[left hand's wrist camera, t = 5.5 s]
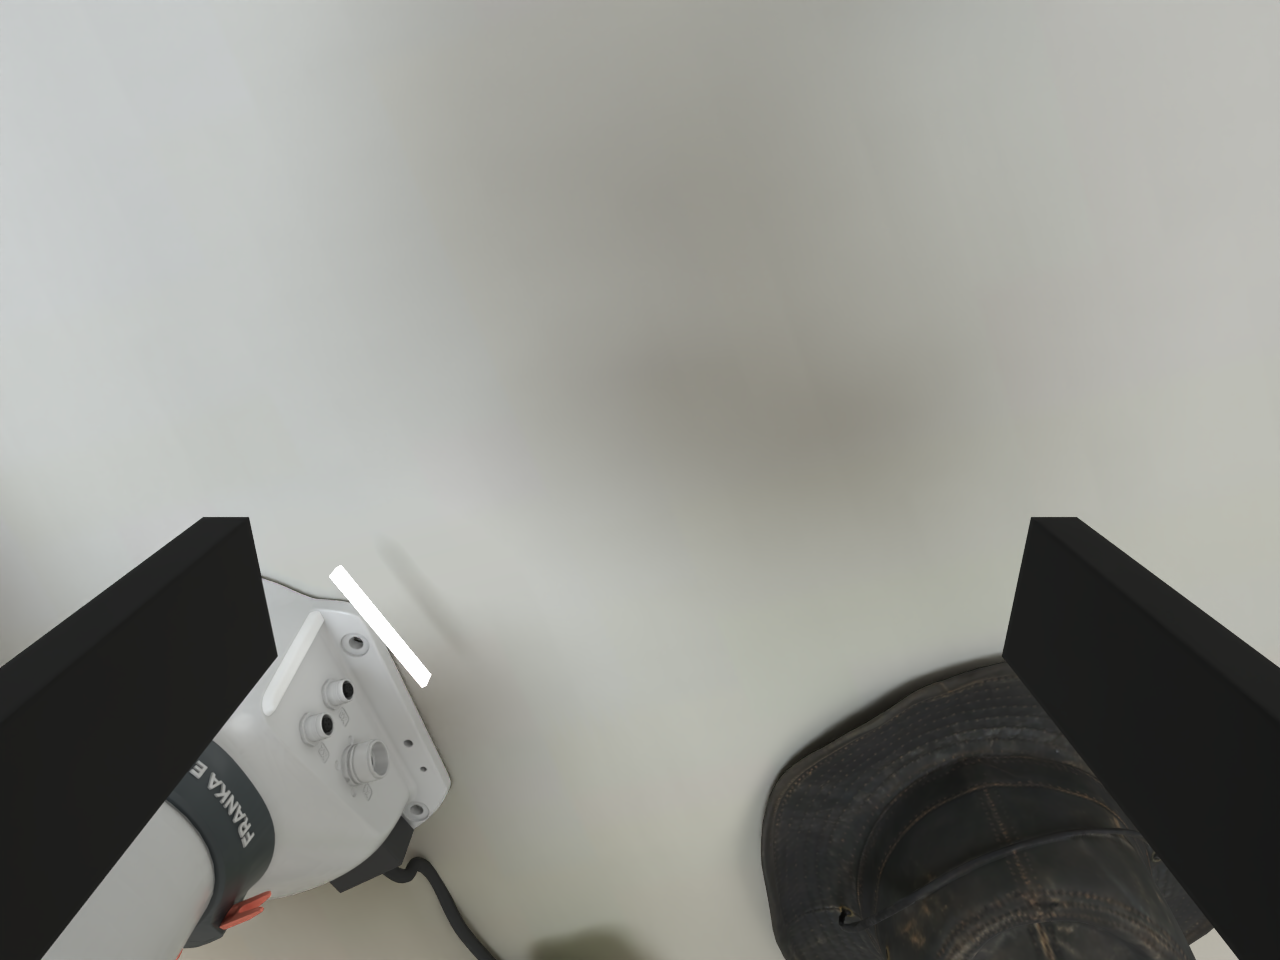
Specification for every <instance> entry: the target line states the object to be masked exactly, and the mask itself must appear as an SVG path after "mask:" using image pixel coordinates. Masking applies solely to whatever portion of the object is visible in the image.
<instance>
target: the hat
mask: <svg viewBox="0 0 1280 960" xmlns="http://www.w3.org/2000/svg"><path fill="white" fill-rule="evenodd" d="M761 862H762V869H763V875H764V880H765V885H766V890H767V896H768V901H769V907H770V913H771V920H772V927H773V932H774V935H775V939H776V942H777V944H778V946H779V948H780V950H781V952H782V954H783V956H784V958H785V959H786V960H1196V959H1195V957H1194V955H1193V953H1192V951H1191V948H1190V946H1189V945H1190V944H1192V943H1193V942H1195V941H1196V940H1198V939H1199V938H1201V937H1202V936H1204V935H1205V934H1207V933H1208V932H1209V931H1211V930H1212V929H1213V928H1214V927H1213V926H1212V924H1211V923H1210V922H1209V921H1208V919H1207V918H1206V917H1205V915H1204V914H1203V913H1202V912H1201V910H1200V909H1199V908H1198V906H1197V905H1196V904H1195V903H1194V901H1193V900H1192V899H1191V898H1190V896H1189V895H1188V894H1187V892H1186V891H1185V890H1184V889H1183V887H1182V886H1181V885H1180V883H1179V882H1178V881H1177V880H1176V878H1175V877H1174V876H1173V874H1172V873H1171V872H1170V871H1169V869H1168V868H1167V867H1166V866H1165V864H1164V863H1163V862H1162V860H1161V859H1160V858H1159V857H1158V855H1157V854H1156V853H1155V851H1154V850H1153V849H1152V848H1151V846H1150V845H1149V844H1148V842H1147V841H1146V840H1145V839H1144V837H1143V836H1142V835H1141V834H1140V832H1139V831H1138V830H1137V828H1136V827H1135V826H1134V825H1133V823H1132V822H1131V821H1130V819H1129V818H1128V817H1127V816H1126V814H1125V813H1124V812H1123V810H1122V809H1121V808H1120V807H1119V805H1118V804H1117V803H1116V801H1115V800H1114V799H1113V798H1112V796H1111V795H1110V794H1109V793H1108V791H1107V790H1106V789H1105V787H1104V786H1103V785H1102V784H1101V782H1100V781H1099V780H1098V778H1097V777H1096V776H1095V775H1094V773H1093V772H1092V771H1091V769H1090V768H1089V767H1088V766H1087V764H1086V763H1085V762H1084V761H1083V759H1082V758H1081V757H1080V755H1079V754H1078V753H1077V752H1076V750H1075V749H1074V748H1073V746H1072V745H1071V744H1070V743H1069V741H1068V740H1067V739H1066V737H1065V736H1064V735H1063V734H1062V732H1061V731H1060V730H1059V729H1058V727H1057V726H1056V725H1055V723H1054V722H1053V721H1052V720H1051V718H1050V717H1049V716H1048V714H1047V713H1046V712H1045V711H1044V709H1043V708H1042V707H1041V705H1040V704H1039V703H1038V702H1037V700H1036V699H1035V698H1034V697H1033V695H1032V694H1031V693H1030V691H1029V690H1028V689H1027V688H1026V686H1025V685H1024V684H1023V682H1022V681H1021V680H1020V679H1019V677H1018V676H1017V675H1016V673H1015V672H1014V671H1013V670H1012V668H1011V667H1010V666H1009V665H1008V663H1007V662H1003V663H999V664H995V665H991V666H986V667H982V668H978V669H975V670H972V671H969V672H965V673H962V674H959V675H956V676H953V677H950V678H948V679H945V680H943V681H939V682H935V683H933V684H931V685H928V686H925V687H923V688H921V689H919V690H917V691H915V692H913V693H911V694H910V695H908V696H907V697H905V698H904V699H902V700H901V701H899V702H898V703H896V704H895V705H894V706H892V707H891V708H889V709H888V710H886V711H885V712H883V713H881V714H879V715H878V716H876V717H874V718H873V719H871V720H870V721H868V722H866V723H865V724H863V725H861V726H859V727H857V728H855V729H854V730H852V731H850V732H848V733H846V734H844V735H843V736H841V737H840V738H838V739H836V740H835V741H833V742H831V743H830V744H828V745H826V746H824V747H823V748H821V749H819V750H817V751H814V752H812V753H811V754H809V755H807V756H806V757H804V758H802V759H801V760H800V761H798V762H797V763H795V764H794V765H793V766H792V767H791V768H789V769H788V770H787V771H786V772H785V773H784V774H783V775H782V776H781V777H780V779H779V780H778V782H777V783H776V785H775V787H774V789H773V791H772V793H771V795H770V797H769V801H768V804H767V808H766V812H765V816H764V820H763V828H762V838H761Z"/></svg>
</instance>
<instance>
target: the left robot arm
mask: <svg viewBox="0 0 1280 960" xmlns="http://www.w3.org/2000/svg"><path fill="white" fill-rule="evenodd" d="M277 657H278V654H277V649H276V644H275V640H274V635H273V630H272V625H271V621H270V616H269V611H268V606H267V601H266V597H265V592H264V587H263V582H262V578H261V573H260V568H259V563H258V558H257V554H256V549H255V544H254V539H253V535H252V530H251V525H250V520H249V517H203V518H201V519H200V520H199V521H197V522H196V523H195V524H193V525H192V526H191V527H189V528H188V529H187V530H185V531H184V532H183V533H181V534H180V535H179V536H177V537H176V538H175V539H173V540H172V541H171V542H169V543H168V544H166V545H165V546H164V547H162V548H161V549H160V550H158V551H157V552H156V553H154V554H153V555H152V556H150V557H149V558H148V559H146V560H145V561H144V562H142V563H141V564H140V565H138V566H137V567H136V568H134V569H133V570H131V571H130V572H129V573H127V574H126V575H125V576H123V577H122V578H121V579H119V580H118V581H117V582H115V583H114V584H113V585H111V586H110V587H109V588H107V589H106V590H105V591H103V592H102V593H101V594H99V595H98V596H96V597H95V598H94V599H92V600H91V601H90V602H88V603H87V604H86V605H84V606H83V607H82V608H80V609H79V610H78V611H76V612H75V613H74V614H72V615H71V616H70V617H68V618H67V619H66V620H64V621H63V622H61V623H60V624H59V625H57V626H56V627H55V628H53V629H52V630H51V631H49V632H48V633H47V634H45V635H44V636H43V637H41V638H40V639H39V640H37V641H36V642H35V643H33V644H32V645H31V646H29V647H28V648H26V649H25V650H24V651H22V652H21V653H20V654H18V655H17V656H16V657H14V658H13V659H12V660H10V661H9V662H8V663H6V664H5V665H4V666H2V667H1V668H0V960H41V959H42V958H43V956H44V955H45V954H46V953H47V951H48V950H49V949H50V947H51V946H52V945H53V944H54V942H55V941H56V940H57V938H58V937H59V936H60V935H61V933H62V932H63V931H64V930H65V928H66V927H67V926H68V924H69V923H70V922H71V921H72V919H73V918H74V917H75V915H76V914H77V913H78V912H79V910H80V909H81V908H82V906H83V905H84V904H85V903H86V901H87V900H88V899H89V898H90V896H91V895H92V894H93V892H94V891H95V890H96V889H97V887H98V886H99V885H100V883H101V882H102V881H103V880H104V878H105V877H106V876H107V874H108V873H109V872H110V871H111V869H112V868H113V867H114V866H115V864H116V863H117V862H118V860H119V859H120V858H121V857H122V855H123V854H124V853H125V851H126V850H127V849H128V848H129V846H130V845H131V844H132V842H133V841H134V840H135V839H136V837H137V836H138V835H139V834H140V832H141V831H142V830H143V828H144V827H145V826H146V825H147V823H148V822H149V821H150V819H151V818H152V817H153V816H154V814H155V813H156V812H157V810H158V809H159V808H160V807H161V805H162V804H163V803H164V801H165V800H166V799H167V798H168V796H169V795H170V794H171V793H172V791H173V790H174V789H175V787H176V786H177V785H178V784H179V782H180V781H181V780H182V778H183V777H184V776H185V775H186V773H187V772H188V771H189V769H190V768H191V767H192V766H193V764H194V763H195V762H196V761H197V759H198V758H199V757H200V755H201V754H202V753H203V752H204V750H205V749H206V748H207V746H208V745H209V744H210V743H211V741H212V740H213V739H214V737H215V736H216V735H217V734H218V732H219V731H220V730H221V729H222V727H223V726H224V725H225V723H226V722H227V721H228V720H229V718H230V717H231V716H232V714H233V713H234V712H235V711H236V709H237V708H238V707H239V705H240V704H241V703H242V702H243V700H244V699H245V698H246V697H247V695H248V694H249V693H250V691H251V690H252V689H253V688H254V686H255V685H256V684H257V682H258V681H259V680H260V679H261V677H262V676H263V675H264V673H265V672H266V671H267V670H268V668H269V667H270V666H271V664H272V663H273V662H274V661H275V659H276V658H277ZM1002 657H1003V658H1004V659H1005V661H1006V662H1007V663H1008V665H1009V666H1010V667H1011V668H1012V670H1013V671H1014V672H1015V673H1016V675H1017V676H1018V677H1019V679H1020V680H1021V681H1022V682H1023V684H1024V685H1025V686H1026V688H1027V689H1028V690H1029V691H1030V693H1031V694H1032V695H1033V697H1034V698H1035V699H1036V700H1037V702H1038V703H1039V704H1040V705H1041V707H1042V708H1043V709H1044V711H1045V712H1046V713H1047V714H1048V716H1049V717H1050V718H1051V720H1052V721H1053V722H1054V723H1055V725H1056V726H1057V727H1058V729H1059V730H1060V731H1061V732H1062V734H1063V735H1064V736H1065V737H1066V739H1067V740H1068V741H1069V743H1070V744H1071V745H1072V746H1073V748H1074V749H1075V750H1076V752H1077V753H1078V754H1079V755H1080V757H1081V758H1082V759H1083V761H1084V762H1085V763H1086V764H1087V766H1088V767H1089V768H1090V769H1091V771H1092V772H1093V773H1094V775H1095V776H1096V777H1097V778H1098V780H1099V781H1100V782H1101V784H1102V785H1103V786H1104V787H1105V789H1106V790H1107V791H1108V793H1109V794H1110V795H1111V796H1112V798H1113V799H1114V800H1115V801H1116V803H1117V804H1118V805H1119V807H1120V808H1121V809H1122V810H1123V812H1124V813H1125V814H1126V816H1127V817H1128V818H1129V819H1130V821H1131V822H1132V823H1133V825H1134V826H1135V827H1136V828H1137V830H1138V831H1139V832H1140V834H1141V835H1142V836H1143V837H1144V839H1145V840H1146V841H1147V842H1148V844H1149V845H1150V846H1151V848H1152V849H1153V850H1154V851H1155V853H1156V854H1157V855H1158V857H1159V858H1160V859H1161V860H1162V862H1163V863H1164V864H1165V866H1166V867H1167V868H1168V869H1169V871H1170V872H1171V873H1172V874H1173V876H1174V877H1175V878H1176V880H1177V881H1178V882H1179V883H1180V885H1181V886H1182V887H1183V889H1184V890H1185V891H1186V892H1187V894H1188V895H1189V896H1190V898H1191V899H1192V900H1193V901H1194V903H1195V904H1196V905H1197V906H1198V908H1199V909H1200V910H1201V912H1202V913H1203V914H1204V915H1205V917H1206V918H1207V919H1208V921H1209V922H1210V923H1211V924H1212V926H1213V927H1214V928H1215V930H1216V931H1217V932H1218V933H1219V935H1220V936H1221V937H1222V938H1223V940H1224V941H1225V942H1226V944H1227V945H1228V946H1229V947H1230V949H1231V950H1232V951H1233V953H1234V954H1235V955H1236V956H1237V958H1238V959H1239V960H1280V668H1279V667H1278V666H1276V665H1275V664H1274V663H1272V662H1271V661H1270V660H1268V659H1267V658H1266V657H1264V656H1263V655H1262V654H1260V653H1259V652H1258V651H1256V650H1255V649H1254V648H1252V647H1251V646H1249V645H1248V644H1247V643H1245V642H1244V641H1243V640H1241V639H1240V638H1239V637H1237V636H1236V635H1235V634H1233V633H1232V632H1231V631H1229V630H1228V629H1227V628H1225V627H1224V626H1223V625H1221V624H1220V623H1219V622H1217V621H1216V620H1214V619H1213V618H1212V617H1210V616H1209V615H1208V614H1206V613H1205V612H1204V611H1202V610H1201V609H1200V608H1198V607H1197V606H1196V605H1194V604H1193V603H1192V602H1190V601H1189V600H1188V599H1186V598H1185V597H1184V596H1182V595H1181V594H1179V593H1178V592H1177V591H1175V590H1174V589H1173V588H1171V587H1170V586H1169V585H1167V584H1166V583H1165V582H1163V581H1162V580H1161V579H1159V578H1158V577H1157V576H1155V575H1154V574H1153V573H1151V572H1150V571H1149V570H1147V569H1146V568H1144V567H1143V566H1142V565H1140V564H1139V563H1138V562H1136V561H1135V560H1134V559H1132V558H1131V557H1130V556H1128V555H1127V554H1126V553H1124V552H1123V551H1122V550H1120V549H1119V548H1118V547H1116V546H1115V545H1114V544H1112V543H1111V542H1109V541H1108V540H1107V539H1105V538H1104V537H1103V536H1101V535H1100V534H1099V533H1097V532H1096V531H1095V530H1093V529H1092V528H1091V527H1089V526H1088V525H1087V524H1085V523H1084V522H1083V521H1081V520H1080V519H1079V518H1077V517H1031V520H1030V525H1029V530H1028V535H1027V539H1026V544H1025V549H1024V554H1023V558H1022V563H1021V568H1020V573H1019V578H1018V582H1017V587H1016V592H1015V597H1014V601H1013V606H1012V611H1011V616H1010V621H1009V625H1008V630H1007V635H1006V640H1005V644H1004V649H1003V654H1002Z"/></svg>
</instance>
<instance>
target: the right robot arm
mask: <svg viewBox="0 0 1280 960" xmlns="http://www.w3.org/2000/svg"><path fill="white" fill-rule="evenodd" d="M329 577H330V578H331V579H332V580H333V582H334V583H335V584H336V585H337V586H338V588H339V589H340V590H341V591H342V592H343V594H344V595H345V596H346V597H347V598H348V600H349V601H350V602H345V601H338V600H327V599H315V598H312V597H309V596H306V595H303V594H301V593H298V592H296V591H294V590H292V589H290V588H287V587H285V586H283V585H280V584H278V583H275V582H273V581H269V580H266V579H263V578H262V582H263V587H264V592H265V597H266V601H267V606H268V611H269V616H270V621H271V625H272V630H273V635H274V640H275V644H276V649H277V654H278V657H277V658H276V659H275V661H274V662H273V663H272V664H271V666H270V667H269V668H268V670H267V671H266V672H265V673H264V675H263V676H262V677H261V679H260V680H259V681H258V682H257V684H256V685H255V686H254V688H253V689H252V690H251V691H250V693H249V694H248V695H247V697H246V698H245V699H244V700H243V702H242V703H241V704H240V705H239V707H238V708H237V709H236V711H235V712H234V713H233V714H232V716H231V717H230V718H229V720H228V721H227V722H226V723H225V725H224V726H223V727H222V729H221V730H220V731H219V732H218V734H217V735H216V736H215V737H214V739H213V740H212V741H211V743H210V744H209V745H208V746H207V748H206V749H205V750H204V752H203V753H202V754H201V755H200V757H199V758H198V759H197V761H196V762H195V763H194V764H193V766H192V767H191V768H190V769H189V771H188V772H187V773H186V775H185V776H184V777H183V778H182V780H181V781H180V782H179V784H178V785H177V786H176V787H175V789H174V790H173V791H172V793H171V794H170V795H169V796H168V798H167V799H166V800H165V801H164V803H163V804H162V805H161V807H160V808H159V809H158V810H157V812H156V813H155V814H154V816H153V817H152V818H151V819H150V821H149V822H148V823H147V825H146V826H145V827H144V828H143V830H142V831H141V832H140V834H139V835H138V836H137V837H136V839H135V840H134V841H133V842H132V844H131V845H130V846H129V848H128V849H127V850H126V851H125V853H124V854H123V855H122V857H121V858H120V859H119V860H118V862H117V863H116V864H115V866H114V867H113V868H112V869H111V871H110V872H109V873H108V874H107V876H106V877H105V878H104V880H103V881H102V882H101V883H100V885H99V886H98V887H97V889H96V890H95V891H94V892H93V894H92V895H91V896H90V898H89V899H88V900H87V901H86V903H85V904H84V905H83V906H82V908H81V909H80V910H79V912H78V913H77V914H76V915H75V917H74V918H73V919H72V921H71V922H70V923H69V924H68V926H67V927H66V928H65V930H64V931H63V932H62V933H61V935H60V936H59V937H58V938H57V940H56V941H55V942H54V944H53V945H52V946H51V947H50V949H49V950H48V951H47V953H46V954H45V955H44V956H43V958H42V959H41V960H177V959H178V958H179V957H180V954H181V952H182V949H183V948H194V947H199V946H202V945H205V944H207V943H210V942H212V941H215V940H217V939H219V938H221V937H222V936H223V934H224V933H225V931H226V930H227V928H230V927H232V926H235V925H237V924H240V923H242V922H245V921H247V920H249V919H251V918H253V917H254V916H256V915H258V914H259V913H261V912H262V911H263V910H264V908H263V907H259V906H260V905H261V904H262V903H263V902H265V901H266V900H270V899H278V898H282V897H287V896H291V895H295V894H298V893H301V892H304V891H307V890H310V889H313V888H315V887H318V886H321V885H323V884H325V883H328V882H330V883H331V884H332V885H333V886H334V887H335V888H336V889H337V890H338V891H339V892H340V893H341V892H344V891H346V890H348V889H350V888H352V887H354V886H357V885H359V884H361V883H363V882H365V881H368V880H370V879H372V878H374V877H376V876H378V875H381V874H383V875H385V876H386V877H388V878H389V879H391V880H393V881H395V882H397V883H406V882H409V881H411V880H412V879H413V878H414V877H415V875H416V873H417V871H418V872H421V873H422V874H423V875H424V876H425V877H426V878H427V879H428V881H429V882H430V884H431V885H432V887H433V889H434V891H435V893H436V895H437V897H438V899H439V902H440V904H441V906H442V908H443V910H444V912H445V915H446V917H447V919H448V920H449V922H450V924H451V926H452V928H453V929H454V931H455V933H456V934H457V935H458V937H459V938H460V939H461V941H462V942H463V943H464V944H465V945H466V947H467V948H468V949H469V950H470V951H471V952H472V954H473V955H474V956H475V957H476V958H477V959H478V960H496V959H495V958H494V957H493V956H492V955H491V954H490V953H489V952H488V951H487V950H486V949H485V947H484V946H483V945H482V944H481V943H480V942H479V940H478V939H477V938H476V937H475V936H474V934H473V933H472V932H471V931H470V930H469V928H468V927H467V925H466V924H465V922H464V921H463V919H462V917H461V916H460V914H459V912H458V910H457V908H456V906H455V904H454V902H453V899H452V897H451V895H450V894H449V892H448V890H447V888H446V886H445V884H444V883H443V881H442V880H441V878H440V877H439V875H438V873H437V872H436V870H435V869H434V868H433V866H432V865H431V864H430V863H429V862H428V861H427V860H425V859H422V858H419V857H416V858H413V859H411V860H410V861H409V863H408V865H407V867H406V869H401V868H399V867H398V866H400V865H402V862H403V859H404V856H405V854H406V851H407V848H408V845H409V842H410V839H411V837H412V834H413V831H414V829H415V828H416V827H418V826H419V825H421V824H422V823H423V822H424V821H426V820H427V819H428V818H429V817H430V816H431V815H432V814H433V813H434V812H435V811H436V810H437V809H438V808H439V806H440V805H441V803H442V802H443V800H444V799H445V797H446V795H447V793H448V791H449V789H450V786H451V780H450V777H449V775H448V772H447V770H446V768H445V766H444V764H443V762H442V760H441V758H440V756H439V754H438V752H437V749H436V747H435V745H434V743H433V741H432V739H431V737H430V735H429V733H428V731H427V729H426V727H425V725H424V723H423V721H422V719H421V717H420V714H419V712H418V710H417V708H416V706H415V704H414V702H413V700H412V698H411V696H410V694H409V692H408V690H407V688H406V686H405V684H404V681H403V679H402V677H401V675H400V673H399V671H398V669H397V667H396V665H395V663H394V661H393V659H392V657H391V655H390V653H389V651H388V649H387V646H388V647H389V649H390V650H391V651H392V652H393V653H394V655H395V656H396V657H397V658H398V659H399V661H400V662H401V663H402V664H403V665H404V667H405V668H406V669H407V670H408V671H409V673H410V674H411V675H412V676H413V677H414V679H415V680H416V681H417V682H418V683H419V685H420V686H421V687H424V686H426V685H427V683H428V681H429V678H430V676H431V674H430V673H429V672H428V670H427V669H426V668H425V667H424V665H423V664H422V663H421V662H420V661H419V659H418V658H417V657H416V656H415V655H414V653H413V652H412V651H411V650H410V648H409V647H408V646H407V645H406V644H405V642H404V641H403V640H402V639H401V638H400V636H399V635H398V634H397V633H396V631H395V630H394V629H393V628H392V627H391V625H390V624H389V623H388V622H387V621H386V619H385V618H384V617H383V616H382V614H381V613H380V612H379V611H378V610H377V608H376V607H375V606H374V605H373V604H372V602H371V601H370V600H369V599H368V597H367V596H366V595H365V594H364V593H363V591H362V590H361V589H360V588H359V587H358V585H357V584H356V583H355V582H354V580H353V579H352V578H351V577H350V576H349V574H348V573H347V572H346V571H345V570H344V568H343V567H342V566H339V567H337V568H336V569H335V570H334V572H333V573H332V574H331V575H330V576H329ZM353 637H358V638H360V639H361V640H362V641H363V642H362V643H361V642H357V641H356V640H355V639H354V638H353ZM386 645H387V646H386ZM416 805H419V806H421V807H419V806H416ZM243 900H244V901H243Z"/></svg>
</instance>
